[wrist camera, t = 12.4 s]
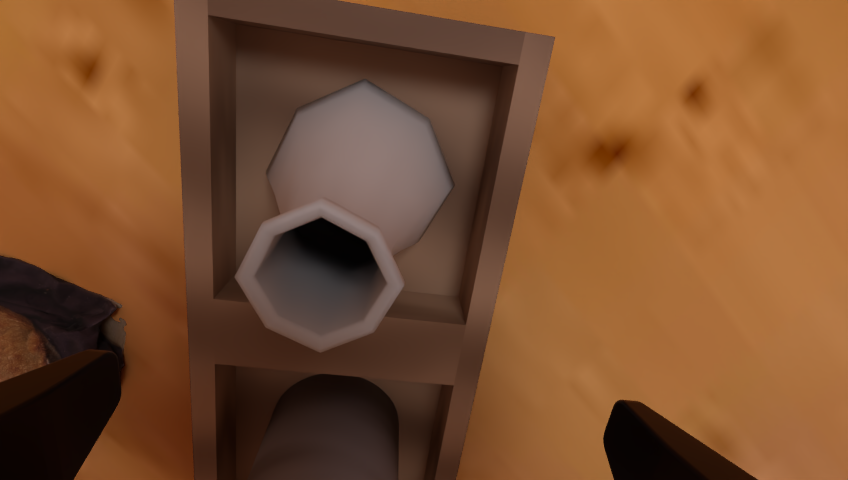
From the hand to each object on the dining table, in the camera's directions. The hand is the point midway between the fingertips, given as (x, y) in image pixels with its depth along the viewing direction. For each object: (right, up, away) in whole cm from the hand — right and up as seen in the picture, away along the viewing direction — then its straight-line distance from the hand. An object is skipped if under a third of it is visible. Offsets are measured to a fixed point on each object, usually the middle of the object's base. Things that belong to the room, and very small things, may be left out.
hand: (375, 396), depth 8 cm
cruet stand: (-3, 0, +13) cm, 14 cm away
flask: (-2, +6, +10) cm, 12 cm away
